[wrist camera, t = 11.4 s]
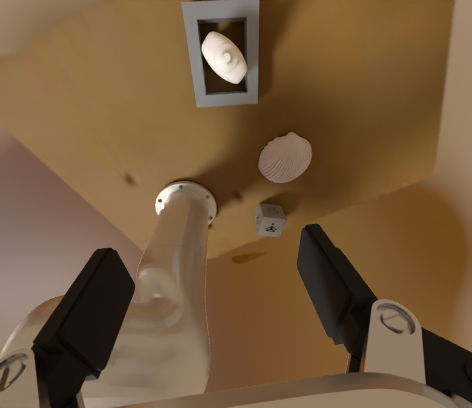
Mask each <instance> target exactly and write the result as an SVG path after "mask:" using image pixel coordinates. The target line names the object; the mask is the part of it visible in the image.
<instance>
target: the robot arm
mask: <svg viewBox="0 0 472 408" xmlns="http://www.w3.org/2000/svg"><path fill="white" fill-rule="evenodd" d="M181 185H182V186H181ZM155 208H156V212H157V215H158V218H157V221H156V223H155V226H154V228H153V231H152V233H151V236H150V238H149V241H148V243H147V246H146V248H145V251H144V253H143V256H142V259H141V261H140V264H139V267H138V270H137V286H138V290H139V293H140V296H141V299H142V301H143V302H139V301H137V302H134V301H131V299H132V296H133V294H134V291H135V284H134V282H133V280H132V278H131V277H130V274H129V273H128V271H127V269H126V267H125V265H124V264H123V262H122V260H121V258H120V256H119V255H118V253H117V251H116V250H113V249H112V248H102V249H97V250H96V251H95V252H94V253H93V255H92V256H91V258H90V259H89V261H88V262H87V264H86V265H85V266H84V268H83V269H82V271H81V272H80V274H79V275H78V277H77V278H76V280H75V281H74V282H73V284H72V285H71V287H70V288H69V290H68V291H67V293H66V294H65V295H62V296H58V297H55V298H51V299H49V300H47V301H45V302H43V303H42V304H40V305H38V306H37V307H36V308H35V309H33V310H32V311H31V312H30V313H29V314H28V315H27V316H26V317H25V318H24V319H23V320H22V321H21V323H20V324H19V325H18V326H17V327H16V329H15V330H14V332H13V333H12V335H11V336H10V338H9V339H8V341H7V342H6V344H5V346H4V348H3V350H2V352H1V354H0V408H472V352H470V351H468V350H466V349H464V348H462V347H460V346H458V345H456V344H454V343H452V342H450V341H448V340H446V339H444V338H442V337H440V336H438V335H436V334H434V333H432V332H430V331H428V330H426V329H424V328H422V327H421V326H420V323H419V322H418V320H417V318H416V317H415V316H414V315H413V314H412V313H411V312H410V311H409V310H408V309H406V308H405V307H404V306H402V305H401V304H399V303H397V302H394V301H391V300H386V299H381V300H378V299H377V298H376V296H375V295H374V294H373V292H372V291H371V290H370V288H369V287H368V286H367V284H366V283H365V282H364V280H363V279H362V278H361V276H360V275H359V274H358V272H357V271H356V270H355V268H354V267H353V266H352V264H351V263H350V262H349V260H348V259H347V258H346V256H345V255H344V254H343V253H342V251H341V250H340V249H339V248H336V247H335V246H334V245H333V243H332V242H331V241H330V239H329V238H328V236H327V235H326V234H325V232H324V231H323V230H322V228H321V227H320V225H318V224H310V225H306V226H305V228H303V229H302V232H301V239H300V246H299V252H298V259H297V268H298V271H299V273H300V275H301V278H302V280H303V282H304V285H305V287H306V289H307V291H308V294H309V296H310V298H311V300H312V303H313V305H314V307H315V309H316V311H317V314H318V316H319V318H320V320H321V323H322V325H323V327H324V329H325V331H326V334H327V335H328V337H330V338H331V337H332V339H333V341H334V343H335V344H336V345H337V344H344V345H345V347H346V349H347V351H348V352H349V358H348V363H347V369H346V373H343V374H336V375H327V376H319V377H311V378H303V379H297V380H290V381H283V382H276V383H270V384H263V385H256V386H249V387H243V388H236V389H230V390H223V391H216V392H210V393H203V392H204V389H205V387H206V384H207V380H208V375H209V369H210V344H209V334H208V326H207V319H206V307H205V276H206V259H207V241H208V225H209V224H210V223H211V222H212V221H213V220H214V218H215V216H216V211H217V206H216V201H215V198H214V197H213V195H212V194H211V192H210V191H209V190H208V189H206V188H205V187H203V186H201V185H199V184H197V183H194V182H189V181H179V182H174V183H171V184H169V185H167V186H166V187H164V188H163V189H162V190H161V191H160V193H159V194H158V196H157V198H156V203H155Z"/></svg>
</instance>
